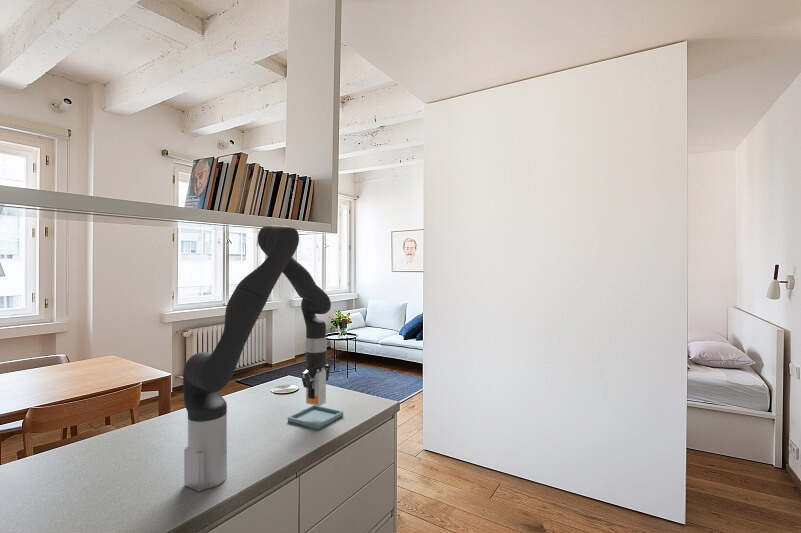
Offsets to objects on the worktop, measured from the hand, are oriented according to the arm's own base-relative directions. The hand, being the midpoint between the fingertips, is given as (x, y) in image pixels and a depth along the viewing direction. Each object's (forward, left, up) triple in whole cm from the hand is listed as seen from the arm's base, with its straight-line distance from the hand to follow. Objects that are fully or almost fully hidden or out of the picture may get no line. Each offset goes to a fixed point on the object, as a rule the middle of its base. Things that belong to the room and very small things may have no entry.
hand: (316, 396), depth 145 cm
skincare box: (0, 0, -3) cm, 3 cm away
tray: (0, 0, -8) cm, 8 cm away
